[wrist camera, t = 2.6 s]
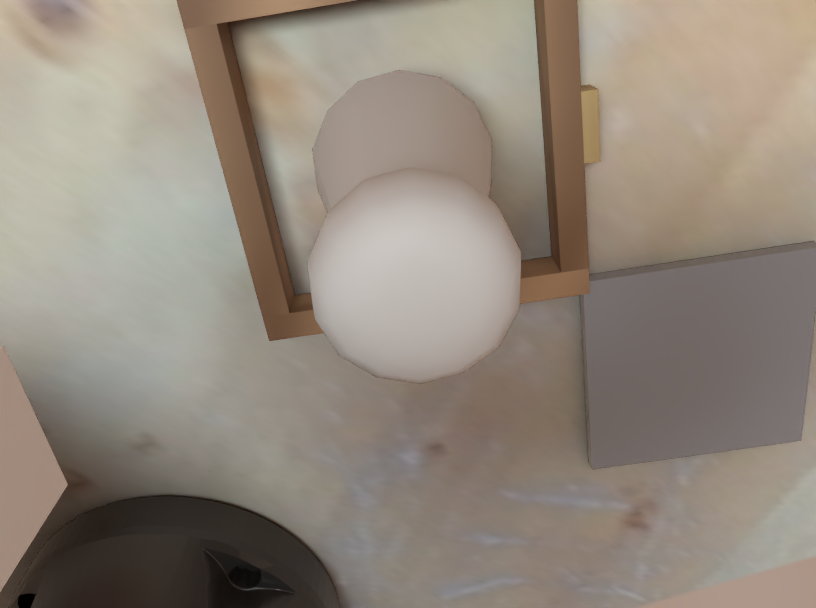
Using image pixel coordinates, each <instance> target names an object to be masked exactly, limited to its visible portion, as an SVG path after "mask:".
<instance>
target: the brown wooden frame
mask: <svg viewBox="0 0 816 608" xmlns="http://www.w3.org/2000/svg"><path fill="white" fill-rule="evenodd" d="M349 1H355V0H177V4H178V7H179V11H180V15H181V18H182V22H183V26H184V29H185V33H186V37H187V40H188V44H189V48H190V51H191V55H192V59H193V62H194V66H195V70H196V73H197V77H198V81H199V84H200V88H201V92H202V96H203V99H204V103H205V107H206V110H207V114H208V118H209V121H210V125H211V129H212V132H213V136H214V140H215V143H216V147H217V151H218V154H219V158H220V162H221V165H222V169H223V173H224V176H225V180H226V184H227V187H228V191H229V195H230V198H231V202H232V206H233V210H234V213H235V217H236V221H237V224H238V228H239V232H240V235H241V239H242V243H243V246H244V250H245V254H246V257H247V261H248V265H249V268H250V272H251V276H252V279H253V283H254V287H255V290H256V294H257V298H258V301H259V305H260V309H261V313H262V316H263V320H264V324H265V327H266V331H267V335H268V338H269V341H273V340H279V339H286V338H293V337H300V336H306V335H313V334H320V333H324V332H323V331H322V329H321V328H320V326H319V324H318V323H317V321H316V320H315V316H314V311H313V304H312V296H311V293H306V294H299V295H295V294H294V290H293V286H292V282H291V278H290V274H289V270H288V266H287V262H286V258H285V254H284V249H283V245H282V241H281V237H280V233H279V229H278V225H277V221H276V217H275V213H274V209H273V205H272V201H271V197H270V193H269V189H268V184H267V180H266V176H265V172H264V168H263V164H262V160H261V156H260V152H259V148H258V144H257V140H256V136H255V132H254V128H253V123H252V119H251V115H250V111H249V107H248V103H247V99H246V95H245V91H244V87H243V83H242V79H241V75H240V71H239V67H238V62H237V58H236V54H235V50H234V46H233V42H232V38H231V34H230V30H229V26H228V22H231V21H236V20H242V19H248V18H254V17H260V16H266V15H272V14H278V13H284V12H290V11H296V10H302V9H308V8H314V7H320V6H326V5H332V4H338V3H344V2H349ZM534 5H535V20H536V34H537V49H538V63H539V78H540V93H541V107H542V122H543V137H544V151H545V166H546V181H547V195H548V210H549V225H550V239H551V254H552V256H551V257H544V258H538V259H531V260H524V261H521V278H520V302H519V304H522V303H529V302H535V301H542V300H549V299H555V298H562V297H569V296H576V295H582V294H589V293H590V286H589V263H588V240H587V218H586V195H585V172H584V164H587V163H594V162H600V136H599V106H598V89H597V88H595V87H593V86H591V85H585V86H581V81H580V58H579V35H578V13H577V0H534Z"/></svg>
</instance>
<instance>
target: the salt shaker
mask: <svg viewBox="0 0 816 608" xmlns="http://www.w3.org/2000/svg"><path fill="white" fill-rule="evenodd" d="M312 151H313V159H314V167H315V175H316V183H317V189H318V192H319V194H320V197H321V199H322V201H323V204H324V206H325V208H326V211H327V213H328V214H327V216H326V218H325V220H324V223H323V225H322V228H321V230H320V232H319V235H318V237H317V240H316V242H315V245H314V247H313V249H312V252H311V254H310V257H309V259H308V262H307V264H308V272H309V280H310V288H311V296H312V304H313V311H314V316H315V320H316V321H317V323H318V324H319V326H320V328H321V329H322V331H323V332H324V334H325V335H326V337H327V338H328V340H329V341H330V343H331V344H332V346H333V347H334V349H335V351H336V352H337V354H338V355H339V356H341V357H343V358H344V359H346V360H348V361H349V362H351V363H353V364H354V365H356V366H358V367H360V368H361V369H363V370H365V371H366V372H368V373H370V374H371V375H373V376H375V377H378V378H384V379H391V380H397V381H404V382H410V383H417V384H422V383H426V382H430V381H434V380H437V379H441V378H445V377H449V376H453V375H457V374H461V373H464V372H465V371H466V370H468V369H469V368H471V367H472V366H473V365H475V364H476V363H477V362H479V361H480V360H482V359H483V358H484V357H486V356H487V355H489V354H490V353H491V352H493V351H494V350H495V349H497V348H498V347H499V346H500V344H501V342H502V340H503V338H504V336H505V335H506V333H507V331H508V329H509V327H510V325H511V323H512V321H513V320H514V318H515V316H516V314H517V312H518V310H519V302H520V278H521V251H520V249H519V247H518V245H517V243H516V241H515V239H514V237H513V235H512V233H511V231H510V229H509V228H508V226H507V224H506V222H505V220H504V218H503V216H502V214H501V212H500V210H499V209H498V207H497V206H496V204H495V203H494V202H493V201H492V200H491V199H489V198H488V197H489V191H490V186H491V180H492V139H491V137H490V135H489V133H488V131H487V129H486V127H485V125H484V123H483V121H482V119H481V117H480V115H479V113H478V111H477V108H476V106H475V104H474V103H473V102H471V101H470V100H469V99H468V98H466V97H465V96H464V95H462V94H461V93H460V92H459V91H457V90H456V89H455V88H453V87H452V86H451V85H450V84H448V83H447V82H446V81H444V80H443V79H442V78H440V77H435V76H429V75H423V74H418V73H412V72H407V71H401V70H398V71H394V72H391V73H387V74H383V75H380V76H376V77H373V78H369V79H365V80H362V81H358V82H357V83H356V84H355V85H354V86H353V87H351V88H350V89H349V90H348V91H347V92H346V93H345V94H344V95H343V96H342V97H341V98H340V99H339V100H338V101H337V102H336V103H335V104H334V105H333V106H332V107H331V108H330V109H329V110H328V111H327V113H326V116H325V118H324V121H323V123H322V126H321V128H320V131H319V133H318V136H317V138H316V141H315V143H314V146H313V149H312Z"/></svg>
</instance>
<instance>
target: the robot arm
mask: <svg viewBox="0 0 816 608" xmlns="http://www.w3.org/2000/svg"><path fill="white" fill-rule="evenodd" d="M67 485H68V484H67V482H66V479H65V477H64V475H63V473H62V471H61V469H60V467H59V464H58V462H57V460H56V458H55V456H54V454H53V451H52V449H51V447H50V445H49V443H48V441H47V439H46V436H45V434H44V432H43V430H42V428H41V426H40V424H39V421H38V419H37V417H36V415H35V413H34V411H33V408H32V406H31V404H30V402H29V400H28V398H27V396H26V393H25V391H24V389H23V387H22V385H21V383H20V380H19V378H18V376H17V374H16V372H15V370H14V368H13V365H12V363H11V361H10V359H9V357H8V355H7V353H6V350H5V348H4V346H0V592H1V590H2V588H3V587H4V585H5V584H6V582H7V581H8V579H9V577H10V576H11V574H12V573H13V571H14V569H15V568H16V566H17V565H18V563H19V562H20V560H21V558H22V557H23V555H24V554H25V552H26V550H27V549H28V547H29V546H30V544H31V542H32V541H33V539H34V538H35V536H36V535H37V533H38V531H39V530H40V528H41V527H42V525H43V523H44V522H45V520H46V519H47V517H48V516H49V514H50V512H51V511H52V509H53V508H54V506H55V504H56V503H57V501H58V500H59V498H60V497H61V495H62V493H63V492H64V490H65V489H66V487H67ZM8 608H340V606H339V601H338V597H337V594H336V591H335V588H334V586H333V584H332V581H331V579H330V578H329V576H328V574H327V572H326V571H325V569H324V568H323V566H322V565H321V564H320V562H319V561H318V560H317V559H316V557H315V556H314V555H313V554H312V553H311V552H310V551H309V550H308V549H307V548H306V547H305V546H304V545H303V544H302V543H301V542H299V541H298V540H297V539H296V538H294V537H293V536H292V535H290V534H289V533H287V532H286V531H284V530H283V529H281V528H280V527H278V526H276V525H275V524H273V523H271V522H269V521H267V520H265V519H263V518H261V517H259V516H257V515H255V514H252V513H250V512H247V511H245V510H242V509H239V508H236V507H233V506H230V505H226V504H222V503H218V502H214V501H209V500H203V499H196V498H188V497H164V496H162V497H146V498H137V499H131V500H125V501H121V502H116V503H112V504H109V505H106V506H103V507H100V508H97V509H95V510H92V511H90V512H88V513H85V514H83V515H81V516H79V517H78V518H76V519H74V520H72V521H71V522H69V523H68V524H66V525H65V526H63V527H62V528H61V529H60V530H58V531H57V532H56V533H55V534H54V535H53V536H52V537H51V538H50V539H49V540H48V541H47V542H46V543H45V544H44V545H43V547H42V548H41V549H40V551H39V552H38V554H37V555H36V557H35V559H34V560H33V562H32V564H31V565H30V567H29V569H28V570H27V572H26V574H25V575H24V577H23V579H22V580H21V582H20V584H19V585H18V587H17V589H16V591H15V593H14V595H13V597H12V600H11V602H10V605H9V607H8Z"/></svg>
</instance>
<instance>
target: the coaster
mask: <svg viewBox="0 0 816 608" xmlns="http://www.w3.org/2000/svg"><path fill="white" fill-rule="evenodd" d="M589 286H590V293H589V294H582V295H580V306H581V325H582V345H583V365H584V384H585V404H586V424H587V443H588V461H589V464H590V466H591V468H592V469H600V468H607V467H614V466H621V465H629V464H636V463H643V462H650V461H658V460H665V459H672V458H679V457H687V456H694V455H701V454H708V453H716V452H723V451H730V450H737V449H744V448H752V447H759V446H766V445H773V444H781V443H788V442H795V441H801V438H802V429H803V420H804V411H805V402H806V393H807V384H808V375H809V366H810V358H811V349H812V340H813V331H814V322H815V313H816V242H815V241H811V242H805V243H798V244H791V245H784V246H778V247H771V248H764V249H758V250H751V251H744V252H738V253H731V254H724V255H718V256H711V257H704V258H698V259H691V260H684V261H678V262H671V263H664V264H658V265H651V266H644V267H637V268H631V269H624V270H617V271H611V272H604V273H597V274H591V275H589Z"/></svg>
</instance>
